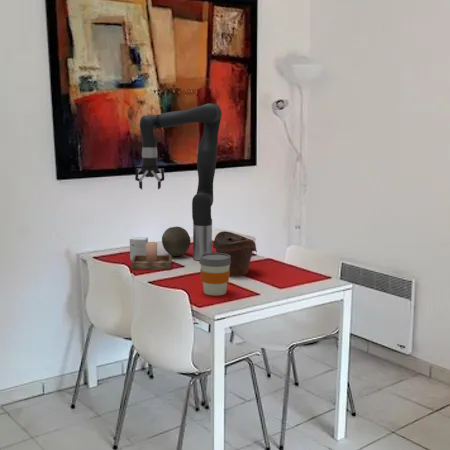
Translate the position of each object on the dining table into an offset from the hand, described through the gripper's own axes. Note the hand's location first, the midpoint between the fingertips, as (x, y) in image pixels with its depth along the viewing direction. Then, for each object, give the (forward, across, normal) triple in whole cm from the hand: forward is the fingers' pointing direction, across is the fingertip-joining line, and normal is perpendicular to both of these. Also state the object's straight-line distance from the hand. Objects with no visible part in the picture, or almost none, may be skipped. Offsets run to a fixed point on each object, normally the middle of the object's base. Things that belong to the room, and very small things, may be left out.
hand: (150, 189), depth 310 cm
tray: (+33, -2, +24) cm, 41 cm away
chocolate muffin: (+33, -40, +36) cm, 63 cm away
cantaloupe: (+33, -13, +5) cm, 36 cm away
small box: (+33, +5, +10) cm, 35 cm away
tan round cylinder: (+32, -2, +24) cm, 40 cm away
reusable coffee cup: (+33, -30, +66) cm, 80 cm away
